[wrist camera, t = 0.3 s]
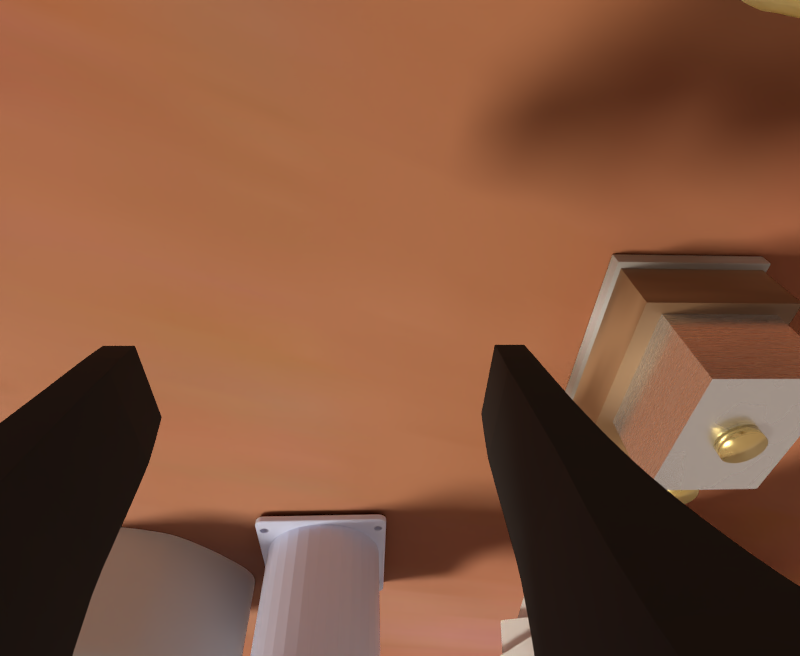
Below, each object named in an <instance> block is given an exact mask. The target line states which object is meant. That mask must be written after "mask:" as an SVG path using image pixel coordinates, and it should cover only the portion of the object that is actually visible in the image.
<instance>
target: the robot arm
mask: <svg viewBox="0 0 800 656" xmlns="http://www.w3.org/2000/svg"><path fill="white" fill-rule="evenodd" d="M481 414H482V421H483V428H484V435H485V442H486V448H487V454H488V460H489V463H490V467H491V471H492V474H493V478H494V482H495V485H496V489H497V493H498V496H499V500H500V503H501V507H502V511H503V514H504V518H505V521H506V525H507V528H508V532H509V536H510V539H511V543H512V546H513V550H514V553H515V557H516V561H517V565H518V569H519V574H520V578H521V582H522V587H523V593H524V599H525V604H526V610H527V615H528V621H529V626H530V632H531V638H532V644H533V650H534V656H800V587H799V586H798V585H796V584H795V583H793V582H792V581H790V580H789V579H787V578H786V577H784V576H782V575H781V574H779V573H778V572H776V571H775V570H774V569H772V568H771V567H769V566H768V565H766V564H765V563H763V562H762V561H760V560H759V559H758V558H756V557H755V556H753V555H752V554H750V553H749V552H747V551H746V550H745V549H743V548H742V547H740V546H739V545H738V544H736V543H735V542H734V541H732V540H731V539H730V538H728V537H727V536H725V535H724V534H723V533H721V532H720V531H719V530H717V529H716V528H715V527H713V526H712V525H710V524H709V523H708V522H706V521H705V520H704V519H702V518H701V517H700V516H699V515H697V514H696V513H695V512H693V511H692V510H691V509H690V508H688V507H687V506H686V505H685V504H683V503H682V502H681V501H680V500H678V499H677V498H676V497H675V496H674V495H672V494H671V493H670V492H669V491H668V490H666V489H665V488H664V487H663V486H662V485H660V484H659V483H658V482H657V481H656V480H654V479H653V478H652V477H651V476H650V475H649V474H647V473H646V472H645V471H644V470H643V469H642V468H641V467H640V466H638V465H637V464H636V463H635V462H634V461H633V460H632V459H631V458H630V457H629V456H628V455H627V454H625V453H624V452H623V451H622V450H621V449H620V448H619V447H618V446H617V445H616V444H615V443H614V442H613V441H612V440H611V439H610V438H609V437H608V436H607V435H606V434H605V433H604V432H603V431H602V430H601V429H600V428H599V427H598V426H597V425H596V424H595V423H594V422H593V421H592V420H591V419H590V418H589V417H588V416H587V415H586V414H585V413H584V411H583V410H582V409H581V408H580V407H579V406H578V405H577V404H576V403H575V402H574V401H573V400H572V399H571V397H570V396H569V395H568V394H567V393H566V392H565V391H564V390H563V389H562V387H561V386H560V385H559V384H558V383H557V382H556V381H555V380H554V378H553V377H552V376H551V375H550V374H549V373H548V372H547V370H546V369H545V368H544V367H543V366H542V365H541V363H540V362H539V361H538V360H537V359H536V358H535V357H534V355H533V354H532V353H531V352H530V351H529V350H528V349H527V348H526V346H525V345H495V347H494V352H493V357H492V362H491V368H490V373H489V378H488V383H487V388H486V393H485V398H484V403H483V408H482V413H481ZM160 421H161V415H160V412H159V409H158V407H157V404H156V401H155V398H154V396H153V393H152V390H151V388H150V385H149V382H148V380H147V377H146V374H145V372H144V369H143V366H142V364H141V361H140V358H139V356H138V353H137V350H136V348H135V346H102V347H101V348H100V349H98V350H97V351H95V352H94V353H92V354H91V355H89V356H88V357H87V358H85V359H84V360H83V361H81V362H80V363H79V364H77V365H76V366H75V367H73V368H72V369H71V370H69V371H68V372H67V373H66V374H64V375H63V376H62V377H60V378H59V379H58V380H56V381H55V382H54V383H52V384H51V385H50V386H49V387H47V388H46V389H45V390H43V391H42V392H41V393H39V394H38V395H37V396H35V397H34V398H33V399H31V400H30V401H29V402H27V403H26V404H25V405H23V406H22V407H21V408H20V409H18V410H17V411H16V412H14V413H13V414H12V415H10V416H9V417H8V418H6V419H5V420H4V421H2V422H1V423H0V656H73V652H74V649H75V646H76V643H77V640H78V637H79V634H80V631H81V628H82V625H83V621H84V618H85V615H86V612H87V609H88V606H89V603H90V600H91V597H92V594H93V592H94V589H95V587H96V584H97V582H98V579H99V576H100V574H101V571H102V569H103V567H104V564H105V562H106V560H107V558H108V555H109V553H110V551H111V549H112V546H113V544H114V542H115V540H116V537H117V535H118V533H119V530H120V528H121V526H122V524H123V521H124V519H125V517H126V515H127V512H128V510H129V508H130V506H131V503H132V501H133V499H134V496H135V494H136V492H137V489H138V487H139V485H140V482H141V480H142V478H143V476H144V473H145V471H146V468H147V466H148V464H149V460H150V457H151V454H152V450H153V447H154V444H155V440H156V436H157V432H158V429H159V425H160ZM255 527H256V531H257V535H258V540H259V544H260V548H261V552H262V556H263V560H264V564H265V573H264V579H263V585H262V590H261V596H260V602H259V608H258V614H257V620H256V626H255V632H254V638H253V644H252V650H251V656H380V605H379V591H381V590H382V589H383V581H384V559H385V538H386V517H385V516H383V515H380V514H367V515H312V516H263V517H259V518H257V519H256V523H255Z"/></svg>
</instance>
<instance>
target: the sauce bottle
mask: <svg viewBox="0 0 800 656" xmlns="http://www.w3.org/2000/svg"><path fill="white" fill-rule="evenodd" d="M741 1H742V2H744V3H746V4H748V5H750V6H752V7H754V8H756V9H758V10H761V11H766V12H773V13H779V14H783V15H787V16H792V17H797V18H800V0H741Z"/></svg>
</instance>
